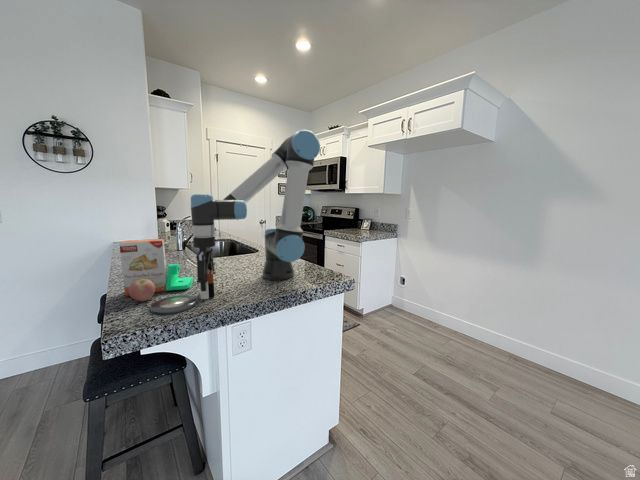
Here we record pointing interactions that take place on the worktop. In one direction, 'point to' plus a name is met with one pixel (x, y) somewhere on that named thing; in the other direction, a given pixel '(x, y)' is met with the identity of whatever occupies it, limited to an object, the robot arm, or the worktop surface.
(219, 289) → the worktop surface
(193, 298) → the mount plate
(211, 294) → the battery
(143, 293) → the apple
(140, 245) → the cracker box
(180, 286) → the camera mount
